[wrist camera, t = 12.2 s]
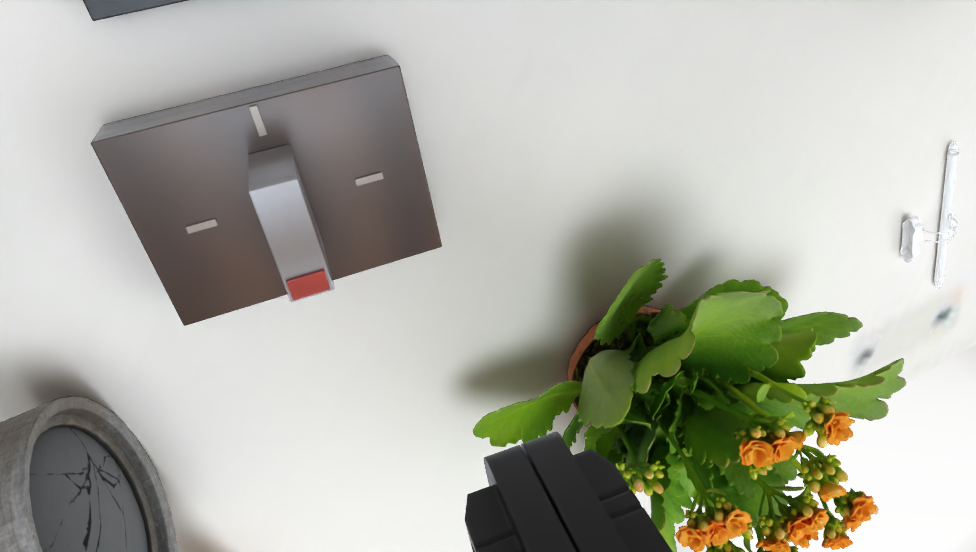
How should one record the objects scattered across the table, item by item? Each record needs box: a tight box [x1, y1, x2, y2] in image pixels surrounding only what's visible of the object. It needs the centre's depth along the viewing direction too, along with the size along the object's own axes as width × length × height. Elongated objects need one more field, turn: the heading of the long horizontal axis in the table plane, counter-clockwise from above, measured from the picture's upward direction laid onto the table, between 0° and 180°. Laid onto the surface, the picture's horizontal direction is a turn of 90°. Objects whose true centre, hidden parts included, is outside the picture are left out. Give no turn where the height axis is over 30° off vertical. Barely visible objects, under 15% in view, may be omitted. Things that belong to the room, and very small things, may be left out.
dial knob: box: [248, 144, 334, 302], centre depth 30 cm, size 6×2×5 cm, turn 9°
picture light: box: [900, 140, 959, 288], centre depth 52 cm, size 14×4×2 cm, turn 17°
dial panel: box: [91, 55, 442, 326], centre depth 33 cm, size 14×10×3 cm
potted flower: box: [473, 259, 906, 552], centre depth 41 cm, size 25×24×18 cm
